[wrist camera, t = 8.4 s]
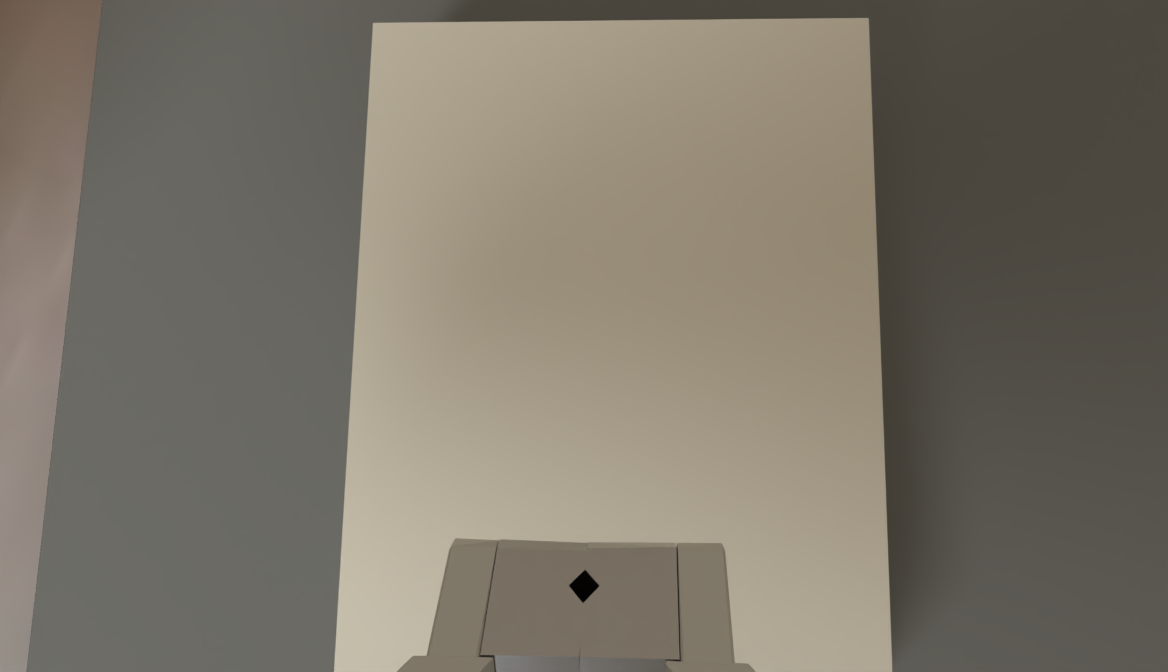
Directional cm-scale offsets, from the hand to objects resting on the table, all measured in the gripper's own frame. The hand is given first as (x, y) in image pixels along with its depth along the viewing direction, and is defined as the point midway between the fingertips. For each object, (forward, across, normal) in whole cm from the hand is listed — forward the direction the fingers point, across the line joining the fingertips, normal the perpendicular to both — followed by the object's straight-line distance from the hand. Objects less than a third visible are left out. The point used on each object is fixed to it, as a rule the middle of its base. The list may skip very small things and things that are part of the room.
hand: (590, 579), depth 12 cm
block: (+3, 0, +6) cm, 7 cm away
